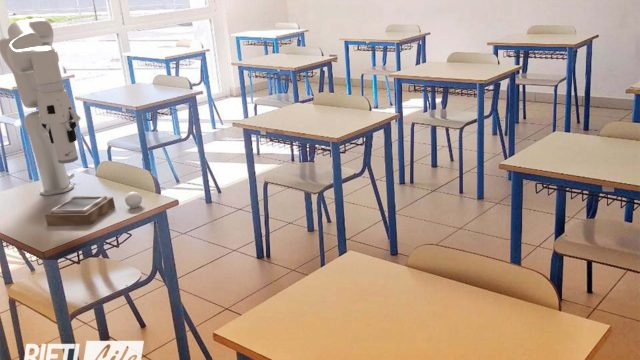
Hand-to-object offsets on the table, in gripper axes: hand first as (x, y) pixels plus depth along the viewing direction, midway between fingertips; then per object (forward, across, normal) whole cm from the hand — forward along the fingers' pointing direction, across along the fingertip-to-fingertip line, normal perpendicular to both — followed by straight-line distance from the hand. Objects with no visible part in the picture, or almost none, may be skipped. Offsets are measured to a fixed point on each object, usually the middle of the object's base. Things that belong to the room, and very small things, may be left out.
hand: (64, 141), depth 211 cm
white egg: (+27, +15, +9) cm, 32 cm away
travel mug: (+7, 0, 0) cm, 7 cm away
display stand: (+27, 0, 0) cm, 27 cm away
